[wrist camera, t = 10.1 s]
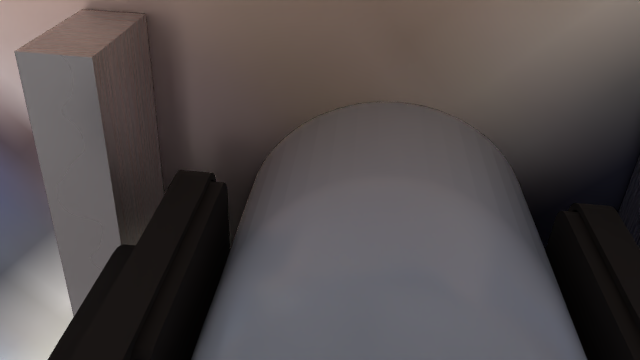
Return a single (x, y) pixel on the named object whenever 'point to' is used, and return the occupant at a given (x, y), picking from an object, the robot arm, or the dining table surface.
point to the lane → (112, 138)
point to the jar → (387, 250)
